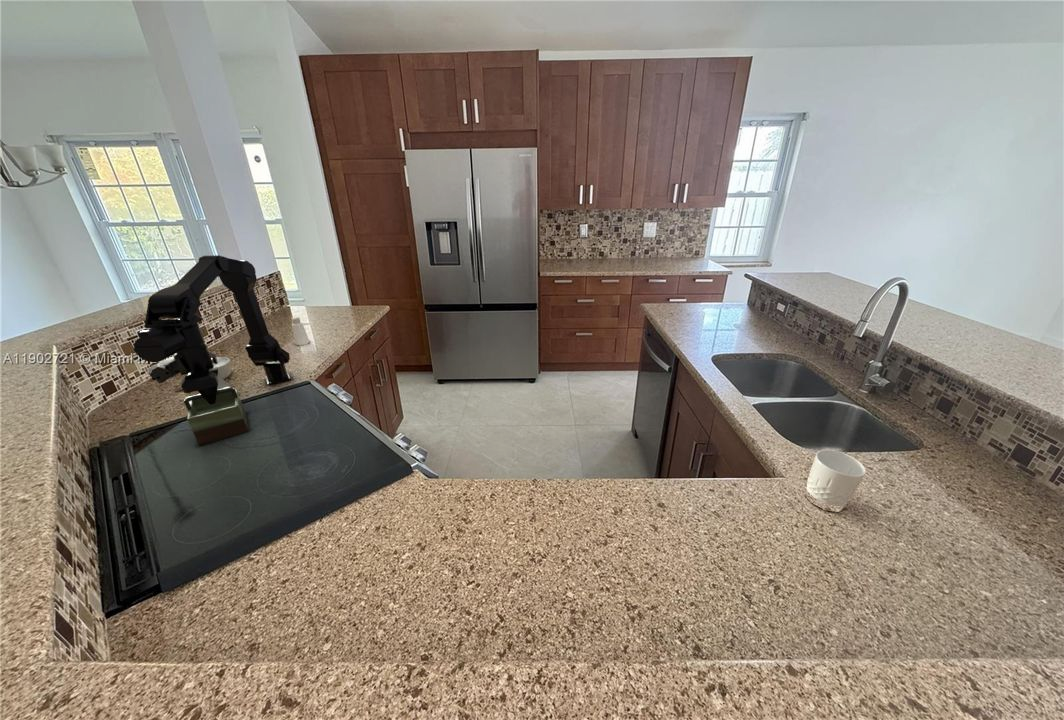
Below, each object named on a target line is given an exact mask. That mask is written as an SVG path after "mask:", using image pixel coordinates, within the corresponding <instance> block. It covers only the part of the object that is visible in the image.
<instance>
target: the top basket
mask: <svg viewBox="0 0 1064 720" xmlns="http://www.w3.org/2000/svg"><path fill="white" fill-rule="evenodd" d="M241 402H242V400H241V397H240V394H239V392H238V389H237V388H235V387H233V386H230V387H228V388H223V389H219V390H217V395H216V403H215V404H212V405H210V404H209V403H208V402H207V401H206V400H205V399H204V397H203V396H202V395H201V394H200V393H198V394H194V395H191V396H186V397H184V399H183V403H184V405H185V407H186V410H187V417H186V420H187V422H188V425H189V426H190V428H191V430H192V433H193V434H194V432H198V431H201V430H205V429H208V428H212V427H215V426H219V425H223V424H226V423H230V422H233V421H237V420H240V419H243V412H242V405H243V403H242V404H241Z"/></svg>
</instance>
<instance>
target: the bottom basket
mask: <svg viewBox="0 0 1064 720" xmlns="http://www.w3.org/2000/svg"><path fill="white" fill-rule="evenodd" d="M241 404H242V412H243V419H240V420H237V421H233V422H230V423H226V424H223V425H219V426H215V427H212V428H208V429H205V430H201V431H198V432H194V433H193V435H194V437H195V439H196V442H197V443H198V446H199V447H201V446H204V445H208V444H211V443H214V442H218V441H221V440H225V439H227V438H231V437H234V436H238V435H241V434H245V433H247V432H249V427H248V419H247V413H246V411H245V408H244V405H243V403H242V401H241Z"/></svg>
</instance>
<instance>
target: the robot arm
mask: <svg viewBox="0 0 1064 720" xmlns="http://www.w3.org/2000/svg"><path fill="white" fill-rule="evenodd" d="M217 278H219V279H220V282H221V284H222V285H223V286H224V287H225V288H227V289H228V290H229V291H230V292H231V293H232V294H233V296H234V299H235V301H236V304H237V307H238V309H239V312H240V314H241V317H242V320H243V323H244V325H245V328H246V331H247V334H248V336H249V341H248V343H247V345H245V350H246V352H247V356H248V357H247V358H248V359H250V360H251V362H252V363H253V364H254V366H255V367H263V370H264V372H265V380H266V384H267V386H271V385H275V384H281V383H283V382H288V381H291V376H290V374H289V372H288V371H287V368H286V364H288V363H290V359H291V357H290V353H289V352H288V351H287V350H285V349H283V348H282V347H281V345H280V343H279V340H277V339H276V338H275V337H274V336H272V335H271V334H270V333H269V330H268V327H267V324H266V321H265V319H264V316H263V313H262V312H263V311H262V310H261V307H260V304H259V302H258V298H257V296H256V292H255V287H256V284H257V281H258V279H257V275H256V268H255V266H254V265H253V264H252V263H251V262H249V261H248V260H246V259H245V260H239V259H234V258H233V259H232V258H229V257H226V256H222V255H219V254H217V255H212V254H211V255H202V256H200V257H199V258H198V262H197V263H195V264H194V265H193V266H192V267H191V268H190V269H189V270H188V271H187V272H186V273H185V274H184V275H183V276H182V277H181V278H180V279H179V280H178V281H177V282H176V283H174V284H173V285H170V286H167V287H163V288H161V289H159V290H157V291H155V292H154V293H153V294H151V295H150V296H149V297H148V300H147V307H146V313H145V320H144V324H143V325H144V326H143V327H144V329H146V330H141V331H138V332H137V336H138V338H137V339H136V340H135V342H134V343H133V351H134V353H135V355H137V356H138V357H139V358H140V359H141V360H143V361H145V362H149V363H156V364H154V365H152V366H150V367H149V369H148V372H147V374H148V375H149V376H150V377H151V380H152V381H156V382H157V383H158V384H163V383H165V382H166V381H167V380H169V379H171V378H173V377H176V376H178V375H179V374H180V375H181V376H184V377H183V379H181V383H180V388H181V390H182V392H183V394H191V393H195V392H198V394H201V395H202V396H203V397H204V399H205V400H206V401H207V402H208V403H209V404H210V405H212V404H215V403H216V395H217V387H218V377H217V376H218V367H214V364H218V362H217V358H216V357H217V355H216V354H215V353H212V352H210V351H209V346H208V343H207V342H206V341H205V339H204V336H203V333H202V331H201V329H200V326H199V324H198V323H200V322H202V321H203V320H204V318H203V317H202V316H199V315H197V312H198V310H199V308H200V306H201V304H202V303H201V300H200V298H201V296H202V295H204V293H205V291H206V290H207V289H208V288H209V287H210V286H211V285H212V284H213V283H214V281H215V280H216V279H217Z"/></svg>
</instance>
